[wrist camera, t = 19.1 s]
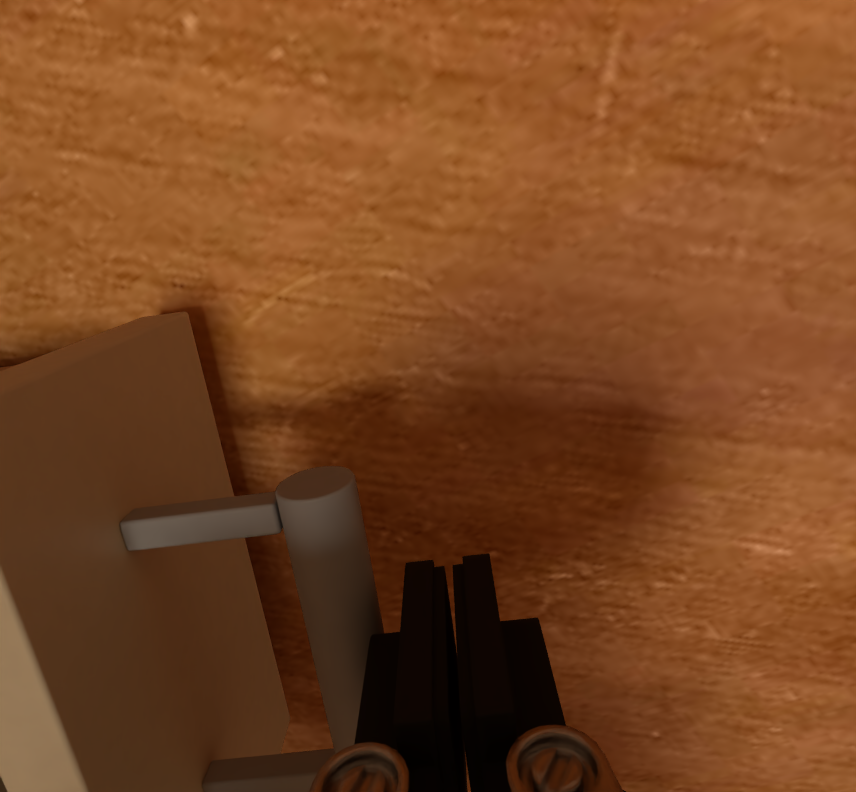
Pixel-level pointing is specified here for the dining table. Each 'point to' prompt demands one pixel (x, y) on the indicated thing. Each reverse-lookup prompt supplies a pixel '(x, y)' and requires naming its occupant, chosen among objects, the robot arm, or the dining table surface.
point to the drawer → (158, 581)
